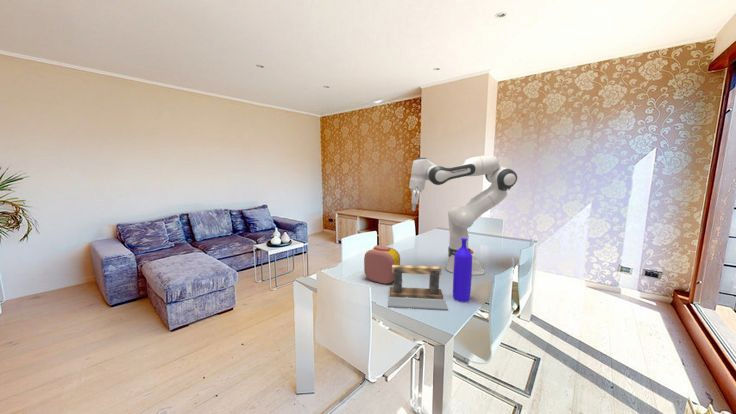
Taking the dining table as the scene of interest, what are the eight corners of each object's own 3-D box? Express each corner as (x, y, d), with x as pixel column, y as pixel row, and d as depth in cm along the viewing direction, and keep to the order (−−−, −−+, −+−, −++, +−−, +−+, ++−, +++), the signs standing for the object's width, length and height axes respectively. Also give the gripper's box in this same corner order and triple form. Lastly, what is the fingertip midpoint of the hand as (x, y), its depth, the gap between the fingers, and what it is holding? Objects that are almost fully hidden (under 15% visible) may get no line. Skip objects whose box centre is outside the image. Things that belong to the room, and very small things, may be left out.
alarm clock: (400, 279, 157) (401, 246, 154) (392, 286, 147) (393, 252, 144) (372, 273, 166) (372, 242, 163) (363, 280, 156) (362, 247, 153)
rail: (440, 272, 137) (440, 266, 137) (441, 274, 134) (441, 268, 134) (392, 270, 140) (392, 264, 139) (391, 272, 137) (391, 267, 136)
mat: (445, 301, 131) (445, 300, 131) (447, 310, 123) (448, 308, 123) (388, 299, 134) (388, 297, 134) (387, 307, 126) (387, 305, 126)
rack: (440, 291, 141) (441, 265, 139) (443, 299, 133) (444, 271, 131) (390, 289, 144) (390, 264, 142) (389, 296, 136) (389, 269, 134)
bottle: (449, 294, 138) (452, 236, 134) (465, 294, 139) (468, 236, 134) (456, 302, 130) (459, 241, 125) (473, 302, 131) (476, 240, 126)
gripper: (422, 189, 148) (418, 213, 152) (422, 184, 168) (418, 206, 171) (411, 187, 149) (407, 212, 153) (411, 182, 169) (408, 204, 172)
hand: (413, 208), depth 162 cm, fingers open, 8 cm apart
